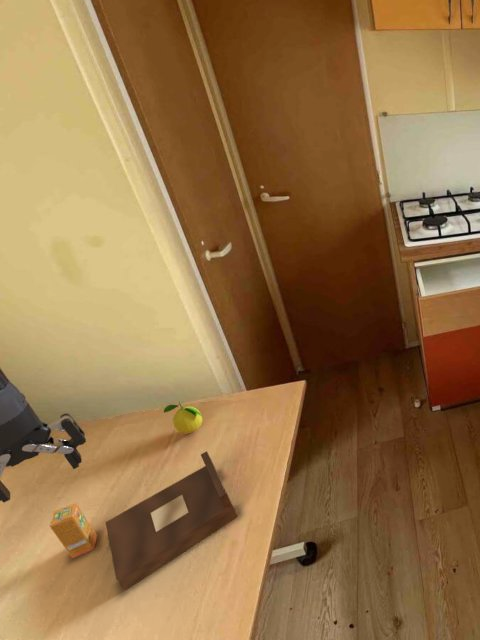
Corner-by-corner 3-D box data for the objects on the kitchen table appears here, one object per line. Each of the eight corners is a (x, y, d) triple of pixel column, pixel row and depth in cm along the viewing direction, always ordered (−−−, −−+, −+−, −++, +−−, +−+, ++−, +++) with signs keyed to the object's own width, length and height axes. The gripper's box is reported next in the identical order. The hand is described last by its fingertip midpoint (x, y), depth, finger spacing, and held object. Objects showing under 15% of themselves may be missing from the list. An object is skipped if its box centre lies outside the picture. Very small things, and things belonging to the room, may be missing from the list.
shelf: (125, 590, 74) (106, 566, 71) (114, 534, 83) (97, 510, 80) (237, 516, 86) (226, 493, 83) (217, 473, 95) (206, 450, 91)
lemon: (173, 432, 105) (158, 403, 100) (200, 417, 109) (186, 388, 105) (183, 446, 101) (168, 416, 97) (210, 430, 105) (197, 401, 101)
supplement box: (96, 548, 81) (72, 516, 76) (72, 559, 79) (46, 527, 75) (99, 533, 83) (76, 501, 79) (76, 543, 81) (50, 512, 77)
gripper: (-84, 457, 59) (-19, 526, 67) (56, 401, 69) (99, 467, 76) (-77, 427, 64) (-17, 495, 71) (53, 379, 73) (94, 443, 81)
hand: (43, 480), depth 74 cm, fingers open, 8 cm apart
